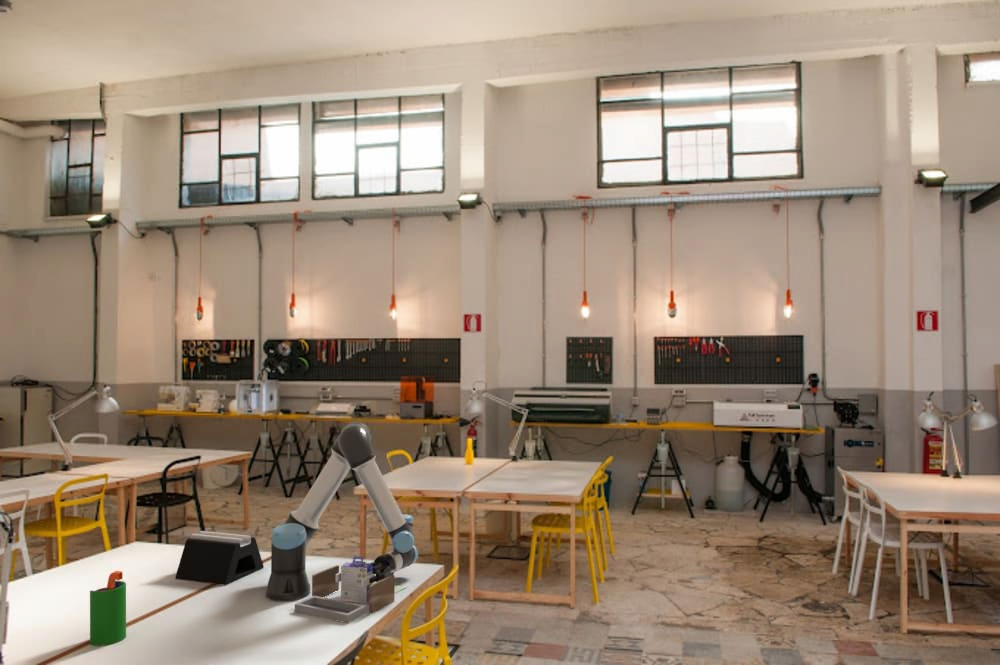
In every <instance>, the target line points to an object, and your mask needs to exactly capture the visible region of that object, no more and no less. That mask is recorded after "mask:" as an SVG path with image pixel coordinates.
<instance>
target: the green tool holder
mask: <svg viewBox="0 0 1000 665" xmlns="http://www.w3.org/2000/svg"><path fill="white" fill-rule="evenodd" d="M126 637H127V583H126V582H125V581H123V571H120V570H115V571H113V572H111V573H110V574H109V576H108V579H107V584H106V587H101V588H98V589H96V590H89V645H90V646H93V647H94V646H97V647H99V646H108V645H113V644H116V643H118V642H121V641H123V640H124V639H125V638H126Z"/></svg>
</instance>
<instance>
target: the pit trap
mask: <svg viewBox="0 0 1000 665" xmlns="http://www.w3.org/2000/svg"><path fill="white" fill-rule="evenodd" d="M294 613H299V614H302V615H303V614H304V615H308V616H312V617H317V618H321V617H323V618H322V619H326V618H327V620H330V619H332V620H331V621H335V620H338V621H337V622H340V621H343V622H342V623H344V622H347V623H346V624H350V623H351V622H353V621H355V620H358V619H359V618H360V617H362V616H363V617H364V616H365V615H366V614H367V606H366V605H362V604H359V603H354V602H347V601H341V600H338V599H332V598H328V597H324V598H323V597H318V596H312V595H311V596H310V597H308V598H305V599H304V600H300V601H299V602H296V603H295V604H294ZM364 614H365V615H364ZM350 621H351V622H350ZM349 622H350V623H349Z"/></svg>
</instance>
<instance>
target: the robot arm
mask: <svg viewBox="0 0 1000 665" xmlns="http://www.w3.org/2000/svg"><path fill="white" fill-rule="evenodd" d="M372 434H373V433H372V432H371V430H370V428H369V427H368V426H367V425H366V424H364V423H361V422H358V421H355V422H354V421H352V422H350V423H348V424H346V425H345V426H344V427H342V429H341V432H340V433H339V435H338V436H337V438H336V440H335V442H334V443H333V445H332V446H331V455H330V457H329V458H328V460H327V462H326V463H325V465H324V467H323V468H322V470H321V471H320V473H319V474H318V477H317V478H316V480H315V481H314V483H313V484H312V486H311V488H310V490H309V491H308V492H307V494H306V496H305V497H304V499H303V500H302V502H301V503H300V505H299V506H298V508H297V509H296V510H291V511H290V513H289V515H288V517H287V518H286V520H285V521H284V523H283V524H280V525H277V526H276V527H274V528H273V529H272V531H271V537H270V541H271V553H270V554H271V559H270V561H271V562H270V563H271V564H270V565H271V566H270V568H271V570H270V571H271V572H270V575H269V578H268V581H267V582H268V583H267V586H266V587H265V597H266V598H267V600H270V601H276V602H289V601H296V600H299V599H303V598H305V597H308V596H309V595H310V594H311V584H310V583H309V579H308V575H307V571H306V563H307V562H306V557H307V556H306V553H307V552H306V551H307V550H306V549H307V547H308V546H309V544H310V542H311V540H313V539H312V538H313V537H314V535H315V534H316V532H317V531H318V529H319V527H320V526H319V521H320V518H321V516H322V515H323V513H324V512H325V510H326V509H327V508H328V506H329V504H330V502H331V500H332V499H333V498H334V495H335V494H336V492H337V491H338V489H339V488H340V487H341V485H342V483H343V481H344V479H345V478H346V477H347V475H348V473H349V472H350V470H353V471H355V472H356V474H357V476H358V477H359V481H360V482H361V483H362V486H363V487H364V489H365V491H366V493H367V495H368V497H369V499H370V501H371V503H372V505H373V507H374V509H375V510H376V513H377V515H378V516H379V518H380V520H381V522H382V523H383V525H384V528H385V530H386V532H387V534H388V536H389V538H390V540H391V542H392V550H390V551H388V552H385V553H383V554H382V555H378V556H377V557H376V558H375V560H373V562H371V563H372V564H373V574H372V575H369V576H367V577H365V578H363V579H361V587H365V586H367V585H370V584H372V583H374V582H378V581H380V580H382V579H384V578H387V577H389V576H391V575H394V574H395V573H396V572H398V571H400V570H402V569H405V568H407V567H410V566H411V565H414V563H416V562H417V560H418V558H419V552H418V549H417V547H416V546H415V545H414V544H415V537H414V517H413V516H412V515H411V514H403V513H402V511H401V509H400V507H399V505H398V503H397V501H396V499H395V497H394V495H393V493H392V492H391V490H390V487H389V486H388V484H387V482H386V480H385V478H384V475H383V474H382V473H381V470H380V469H379V465H378V464H377V461H376V456H377V455H376V454H375V452H374V450H373V447H372V441H373V435H372ZM363 563H367V562H366V561H363ZM336 582H339V583H341V571H339V573H338V574H336Z"/></svg>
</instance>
